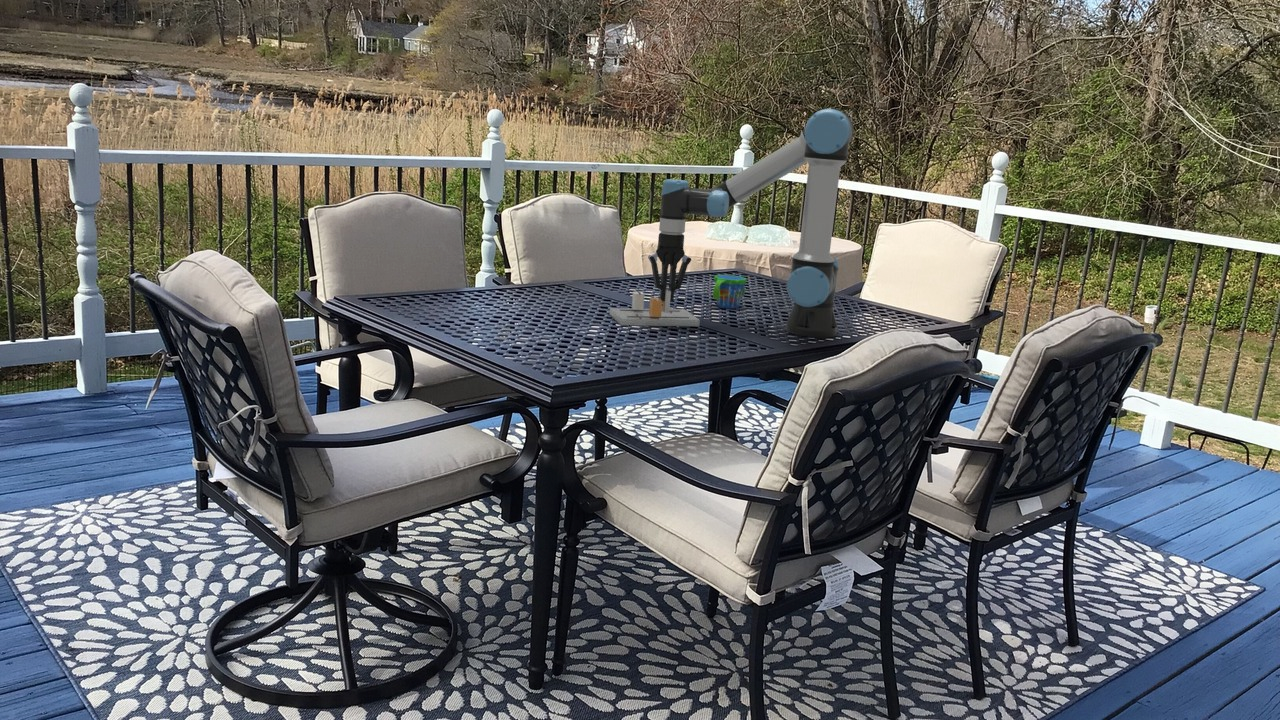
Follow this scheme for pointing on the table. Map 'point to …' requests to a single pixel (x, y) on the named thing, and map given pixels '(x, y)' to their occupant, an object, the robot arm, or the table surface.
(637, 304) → the block
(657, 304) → the block
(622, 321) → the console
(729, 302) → the snack cup
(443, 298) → the table surface
